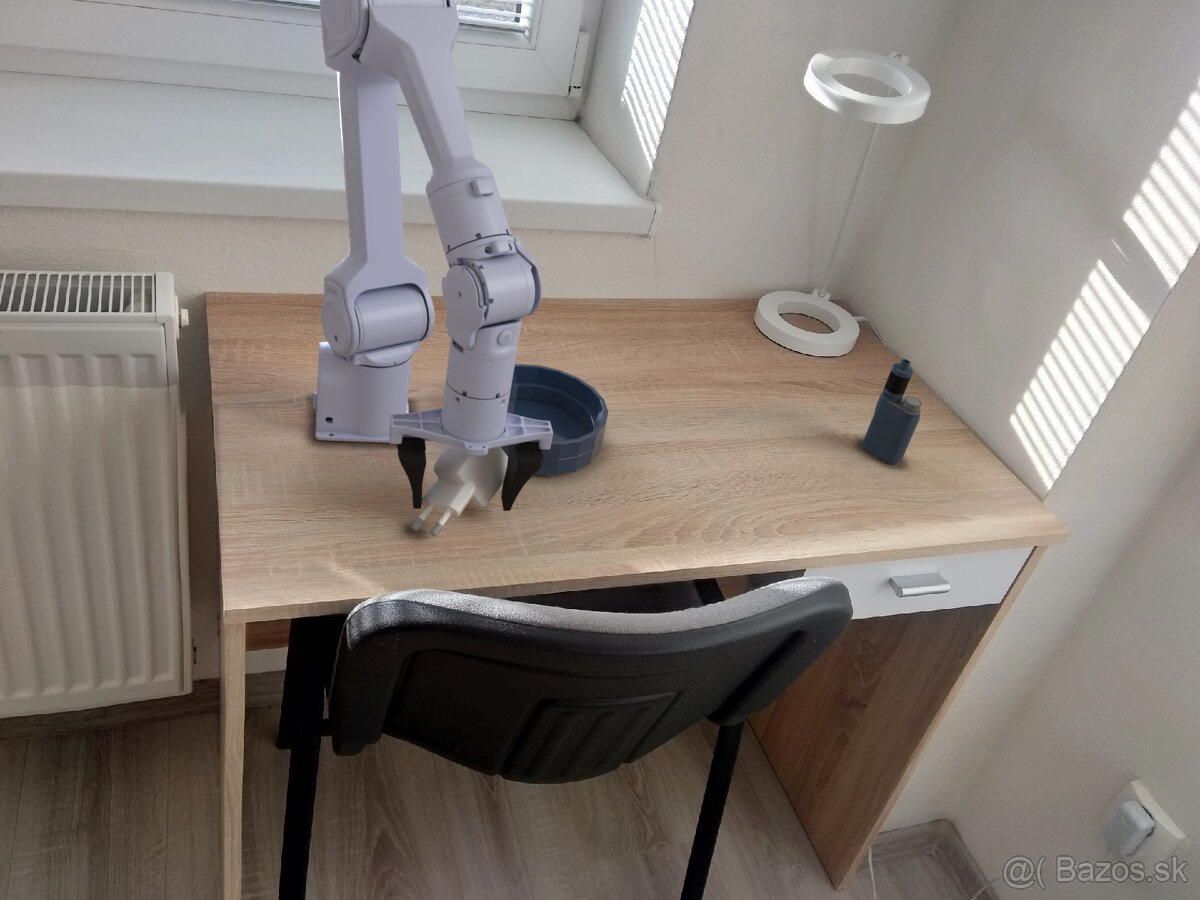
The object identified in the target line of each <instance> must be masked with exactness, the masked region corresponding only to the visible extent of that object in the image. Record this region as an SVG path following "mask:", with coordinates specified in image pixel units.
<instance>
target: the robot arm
mask: <svg viewBox="0 0 1200 900" xmlns="http://www.w3.org/2000/svg"><path fill="white" fill-rule="evenodd" d="M319 8H320V9H319V10H320V22H321V37H322V48H323V52H324V53H323V54H324V63H325V65H326V67H328V68H330V69H332V70H334V71H336V78H337V79H336V81H337V91H338V92H337V94H338V105H339V121H340V134H341V135H340V137H341V148H342V161H343V162H342V163H343V177H344V190H345V205H346V206H345V207H346V218H347V233H348V245H349V252H348V254H347V255H346V256H344V258H343V259H342V260H341V261H339V263H337V264H336V265H335V266H334V267H333V268H332V269H330V271H328V273H326V274H325V275H324V277H323V299H322V303H321V309H320V323H321V327H322V332H323V334H324V338H325V340H326V341H321V342H320V341H319V342H318V359H317V383H316V391H313V395H312V396H313V397H312V410H315V435H314V437H315V439H317V440H318V441H331V442H334V441H335V442H356V443H357V442H359V443H360V442H361V443H383V444H385V443H386V444H389V445H396V446H397V448H396V449H397V458H398V460H399V463H400V466H401V467H402V469H403V471H404V473H405V474H406V477H407V480H408V482H409V485H410V488H411V493H412V494H411V498H412V499H411V500H412V508H413V509H414V510H422V507H423V506H422V505H423V503H422V499H423V484H424V477H425V472H426V467H427V453H426V449H427V446H426V442H436V443H441V444H444V445H452V446H456V447H460V448H463V449H464V452H465V453H466V454H467V455H481V456H483V455H486V454H487V453H488V449H490V448H495V447H501V446H506V445H509V453H508V462H507V469H506V473H505V477H504V482H503V484H502V485H501V495H500V496H501V497H500V499H501V503H502V511H504V512H510V511H512V508H513V505H514V504H515V501H516V499H517V498H518V496H519V494H520V492H521V491H522V490H523V488H524V486H525V485H526V484H527V483H528V481H529V480H530V479H531V478H533V476H535V475H534V474H535V473H536V472H537V471H538V470H540V469H541V467H542V464H543V460H544V456H543V452H542V449H544V450H550V447H551V442H552V436H553V431H552V427H551V423H550V421H543V420H535V419H531V418H526V417H522V416H518V415H514V414H510V413H507V409H508V403H509V397H510V391H511V385H512V379H513V372H514V366H515V364H516V361H517V360H516V359H517V354H518V349H519V341H520V335H521V330H522V323H523V320H522V319H524V318H526V317H529V316H532V315H534V314H535V313H536V311H537V310H538V308H539V306H540V304H541V301H542V291H543V289H542V280H541V276H540V269H539V266H538V263H537V262H536V260H535V259H534V257H533V256H532V255H531V254H530V252H528V251H527V250H526V249H525V248H524V246H523V244H522V240H520V239H519V237H518V236H515V237H514V236H513V235H512V232H511V228H510V226H509V221H508V218H507V215H506V212H505V209H504V205H503V202H502V199H501V196H500V192H499V189H498V186H497V185H498V184H497V182H496V180H495V179H496V178H495V176H494V173H493V170H492V169H491V168H490V167H488V166H487V165H486V164H484V163H482V162H481V161H479V160H477V159H476V158H475V155H474V151H473V147H472V142H471V138H470V133H469V129H468V124H467V119H466V116H465V109H464V106H463V100H462V98H461V97H462V96H461V93H460V92H461V91H460V88H459V83H458V79H457V75H456V70H455V66H454V61H453V57H452V52H453V50H454V48H455V45H456V42H457V39H458V34H459V28H460V18H459V15H458V13H457V11H458V10H457V0H319ZM397 84H399V87H400V90H401V91H402V94H403V96H404V99H405V102H406V104H407V107H408V109H409V112H410V114H411V117H412V120H413V122H414V124H415V127H416V130H417V132H418V134H419V138H420V140H421V142H422V145H423V147H424V150H425V152H426V154H427V157H428V161H429V163H430V165H431V167H432V171H431V173H430V176H429V179H428V181H427V183H426V185H425V193H426V196H427V197H426V198H427V200H428V202H429V203H428V204H429V206H430V210H431V213H432V217H433V219H434V223H435V227H436V230H437V232H438V236H439V240H440V243H441V246H442V249H443V252H444V255H445V258H446V261H447V262H446V263H447V265H448V268H449V269H448V270H447V272H446V275H445V277H444V276H443V277H441V290H442V291H441V292H442V298H443V302H444V306H445V310H446V321H445V327H446V333H447V335H448V336H449V337H450V342H449V349H448V357H447V367H446V375H445V383H444V391H443V400H442V406H441V408H434V409H426V410H421V411H415V412H410V408H409V390H410V381H411V370H412V363H413V362H412V361H413V355H414V354H415V353H418V352H420V346H421V342H424V341H426V340H427V339H429V338H430V336H431V335H432V333H433V330H434V326H435V321H436V312H435V311H436V309H435V305H434V302H433V299H432V295H431V293H430V287H429V282H428V273H427V271H425V269H424V268H423V267H421V265H419V264H418V263H417V262H415V261H414V260H412V259H411V258H409V257H408V256H406V255H405V238H404V237H405V236H404V235H405V234H404V219H403V199H402V178H401V176H402V175H401V158H400V157H401V156H400V138H399V136H400V135H399V117H398V98H397V96H398V95H397Z"/></svg>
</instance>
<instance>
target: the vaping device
mask: <svg viewBox="0 0 1200 900" xmlns="http://www.w3.org/2000/svg"><path fill="white" fill-rule="evenodd" d="M913 374H914V369H913V368H912V367H911V361H910V360H909V359H906V358H902V359H901V360H900V362H896V363H893V364H892V367H891V370H890V372H889V374H888V377H887V379H886V381H885V384H884V386H883V389H882V392H881V393H880V395H879V397H878V400H877V401H876V405H875V407H874V413H873V415H872V418H871V420H870V423H869V426H868V428H867V431H866V433H865V435H864V437H863V440H862V442H861V445H860V446H861V448H862V449H864V450H865V451H867V452H868V453H870V454H871V455H873V456H874V457H876V458H878V459H879V460H881V461H883V462H885V463H886V464H888V465H897V464H898V463H899V462H900V461H901V460H902V459H903V458H904V456H905V454H906V451H907V449H908V447H909V445H910V443H911V440H912V438H913V435H914V433H915V431H916V428H917V426H918V424H919V422H920V419H921V412H922V409H921V407H922V404H923V403H922V400H920V399H919V398H917V397H916V396H915V397H914V396H910V395H907V396H905V397H904V395H905V393H906V390H907V389H908V385H909V383H910V381H911V378H912V377H913ZM903 397H904V398H903Z"/></svg>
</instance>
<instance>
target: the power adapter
mask: <svg viewBox="0 0 1200 900" xmlns="http://www.w3.org/2000/svg"><path fill="white" fill-rule="evenodd" d="M507 462H508V456H507V455H506V453H505V452H504V451H503V449H502V448H501V447H495V448H490V449H488V453H487V454H486V455H483V456H481V455H467V454H466V453H465V452H464V449H463V448H460V447H456V446H452V445H448V444H446V446H445V447H444V449H443V450H442V451H441V453H440V455H439V456H438V458H437V459H436V461H435V462H434V464H433V472H434V474H435V475H436V476H437V478H436V479H435V481H434V482H433V483H432V485H431V486H430V488H428V490H427V492H426V493H425V494H424V496H422V505H424V506H425V507H424V508H423V510H422V511H421V513H419V515H418V517H417V518H416V519H415V521H414V522H413V523H412V525H411V530H413V531H414V532H417V531H419V530H420V528H421V527H422V525H423V524H424V523H425V521H426V519H427V518H428V516H429V515H430V514H431V513H432V511H434V512H436V513H437V512H438V513H442V515H441V516H440V518H439V519H438V520H437V522H436V523H435V524H434V525H433V527H432V528H431V530H430V532H429V533H430V535H431V536H432V537H437V536H438V535H439V533H440V532H441V530H442V529H443V528H444V526H445V524H446V522H447V521H448V520H449V518H451V516H453V517H460V515H461V514H462V512H464V510H465V509H466V506H470V507H473V508H474V507H475V508H479V509H483V508H485V507H486V506H488V505H489V504H490V502H491V501H492V500H493V498H494V497H495V496H496V494H497V493H498V491H499V490H500V488H502V486H503V482H504V477H505V473H506V469H507Z"/></svg>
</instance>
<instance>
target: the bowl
mask: <svg viewBox="0 0 1200 900" xmlns="http://www.w3.org/2000/svg"><path fill="white" fill-rule="evenodd" d="M507 413H510V414H514V415H518V416H522V417H526V418H531V419H535V420H543V421H550V423H551V427H552V431H553V436H552V442H551V447H550V450H544V449H542V452H543V456H544V460H543V464H542V467H541V469H540V470H538V471H537V472H536V473H535V474H534V475H533V476H559V475H565V474H569V473H574V472H577V471H578V470H582V469H583V468H585V467H587V466H590V464H591V463H592V462H593V461H594V460H595V459H596V458H597V457H598V456H599V454H600V451H601V448H602V444H603V438H604V434H605V431H606V426H607V422H608V416H609V409H608V407H607V403H606V401H605V399H604V397H603V396H602V395H601V394H600V393H599V392H598V391H597V390H596V388H595V387H593V386H592V385H590V384H589V383H587V382H586V381H585V380H583V379H581V378H580V377H578V376H576V375H573V374H571V373H569V372H566V371H563V370H561V369H557V368H554V367H549V366H544V365H540V364H526V363H515V366H514V372H513V379H512V385H511V391H510V397H509V403H508V409H507ZM501 448H502V449H503V451H504V452H505V453H506V455H507V456H508V453H509V445H506V446H501Z"/></svg>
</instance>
